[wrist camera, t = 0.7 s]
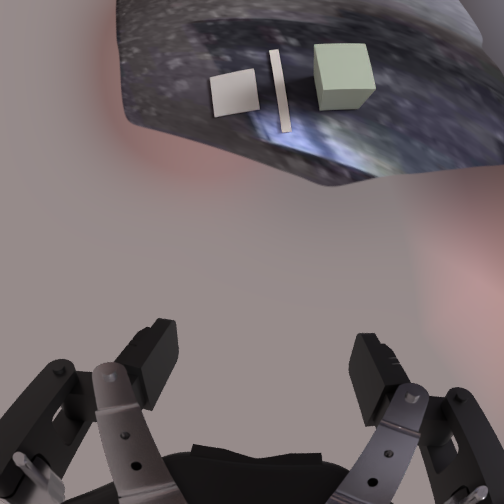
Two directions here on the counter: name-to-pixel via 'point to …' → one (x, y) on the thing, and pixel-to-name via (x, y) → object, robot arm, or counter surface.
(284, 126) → the pale grey thin rod
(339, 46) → the sage block
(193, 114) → the counter surface
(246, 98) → the mat
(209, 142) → the counter surface
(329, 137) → the counter surface
